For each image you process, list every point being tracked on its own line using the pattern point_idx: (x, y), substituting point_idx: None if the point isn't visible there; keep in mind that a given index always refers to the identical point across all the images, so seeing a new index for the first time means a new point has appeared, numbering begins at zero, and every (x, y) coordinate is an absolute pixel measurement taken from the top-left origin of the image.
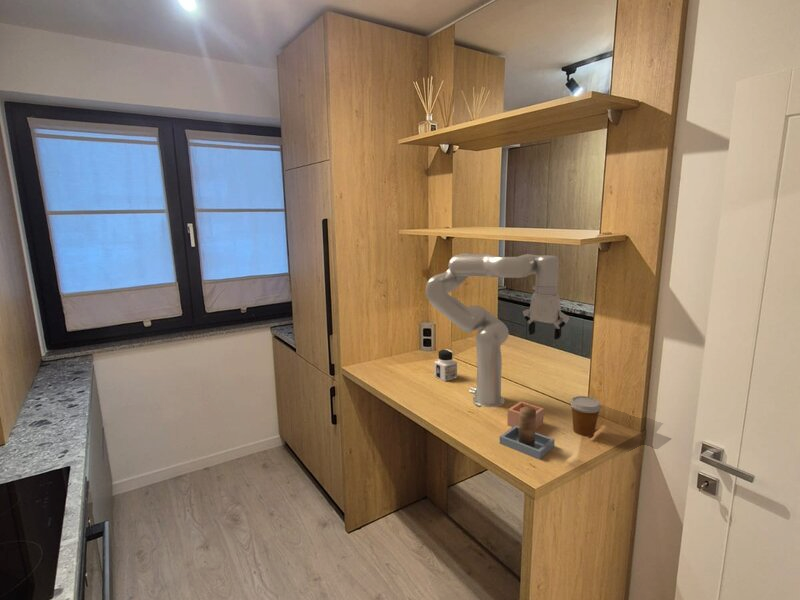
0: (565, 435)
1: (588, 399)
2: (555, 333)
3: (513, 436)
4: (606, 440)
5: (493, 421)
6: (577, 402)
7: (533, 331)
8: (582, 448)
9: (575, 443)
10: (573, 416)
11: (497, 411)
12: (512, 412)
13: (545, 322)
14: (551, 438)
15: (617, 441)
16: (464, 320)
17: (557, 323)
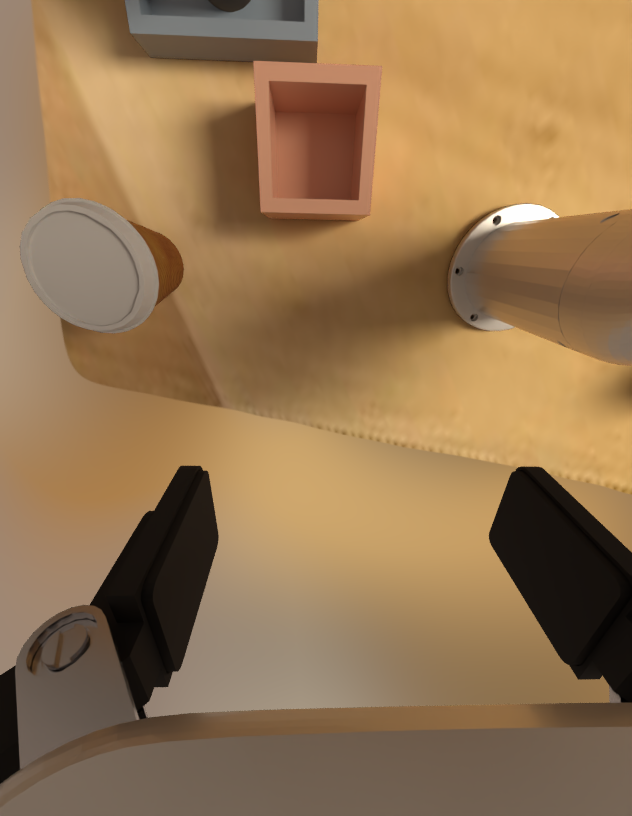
0: (185, 210)
1: (99, 311)
2: (161, 521)
3: (303, 3)
4: None
5: (433, 120)
6: (105, 243)
7: (512, 531)
8: (95, 152)
9: (131, 173)
10: (144, 231)
11: (450, 221)
12: (354, 68)
13: (327, 709)
14: (143, 31)
15: None
16: None
17: (22, 762)
